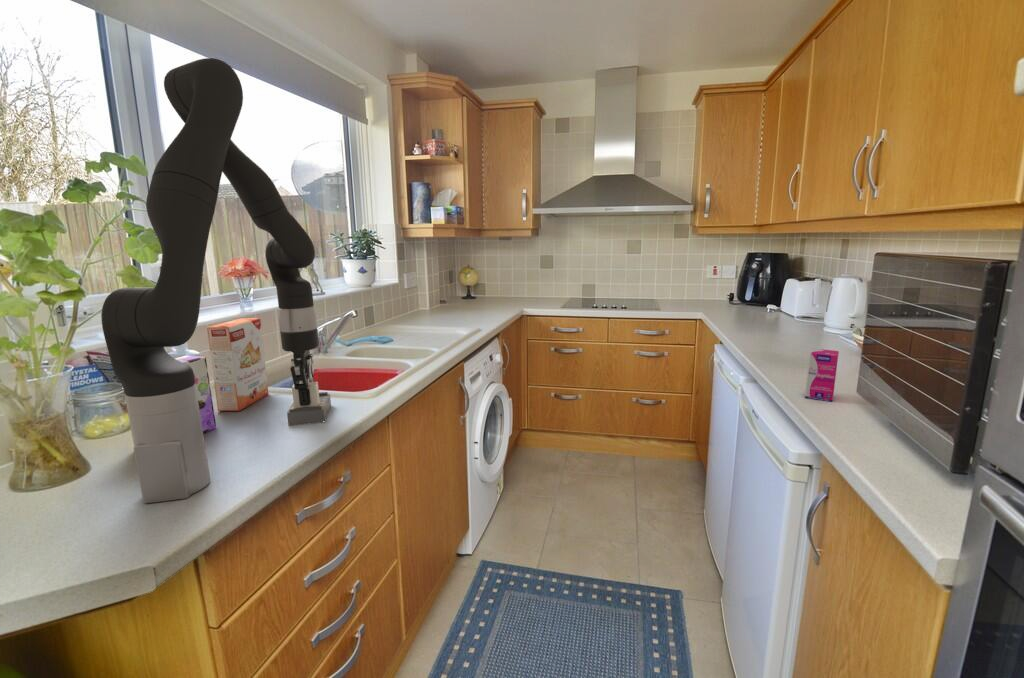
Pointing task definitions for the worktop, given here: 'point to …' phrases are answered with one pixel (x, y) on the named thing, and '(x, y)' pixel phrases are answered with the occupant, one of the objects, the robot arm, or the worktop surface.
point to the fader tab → (313, 396)
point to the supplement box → (821, 374)
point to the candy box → (202, 390)
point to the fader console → (310, 412)
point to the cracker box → (237, 363)
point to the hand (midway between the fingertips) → (306, 402)
